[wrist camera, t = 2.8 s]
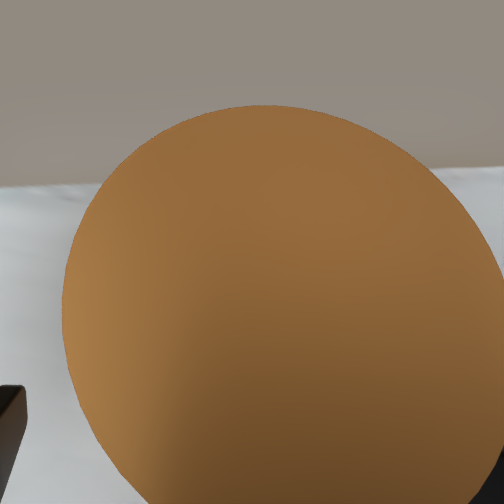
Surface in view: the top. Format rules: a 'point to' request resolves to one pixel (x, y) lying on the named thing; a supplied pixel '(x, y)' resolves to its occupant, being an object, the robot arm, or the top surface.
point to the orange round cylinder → (285, 318)
